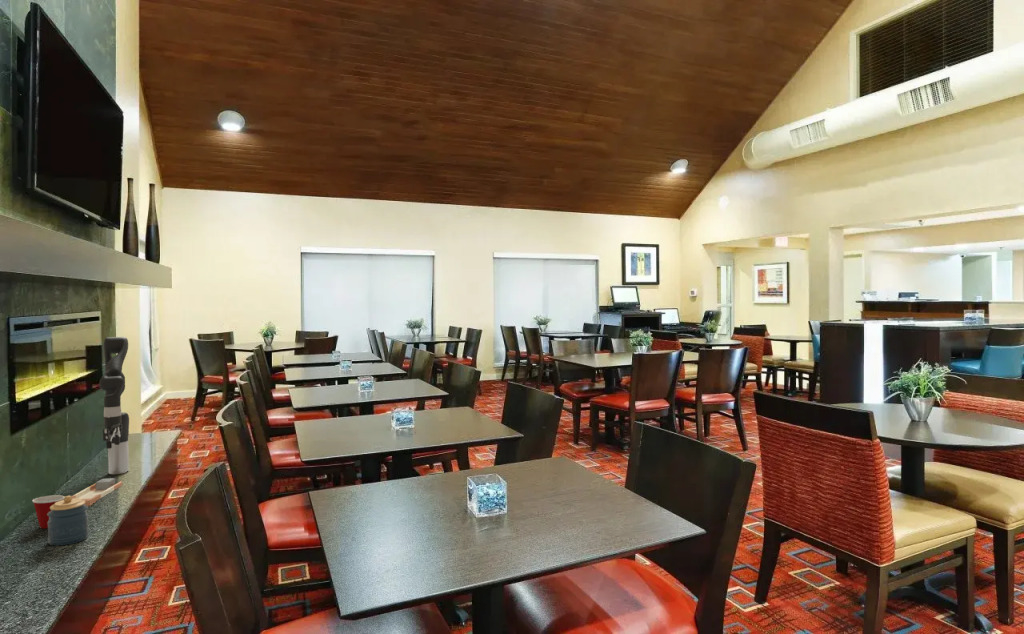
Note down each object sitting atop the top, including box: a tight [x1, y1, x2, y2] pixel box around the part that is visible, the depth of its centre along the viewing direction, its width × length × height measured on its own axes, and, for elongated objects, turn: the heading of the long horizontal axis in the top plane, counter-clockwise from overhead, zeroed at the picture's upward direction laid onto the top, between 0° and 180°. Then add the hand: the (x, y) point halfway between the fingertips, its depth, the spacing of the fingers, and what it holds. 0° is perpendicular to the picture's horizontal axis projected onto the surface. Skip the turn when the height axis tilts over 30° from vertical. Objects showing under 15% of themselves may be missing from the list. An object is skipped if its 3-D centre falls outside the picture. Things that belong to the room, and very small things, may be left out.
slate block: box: [95, 477, 116, 490], centre depth 294 cm, size 6×6×4 cm
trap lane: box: [70, 481, 124, 507], centre depth 284 cm, size 29×12×2 cm, turn 8°
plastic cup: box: [31, 494, 66, 529], centre depth 246 cm, size 11×11×12 cm
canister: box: [47, 495, 90, 546], centre depth 232 cm, size 13×13×18 cm
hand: (113, 446), depth 302 cm, fingers open, 7 cm apart
